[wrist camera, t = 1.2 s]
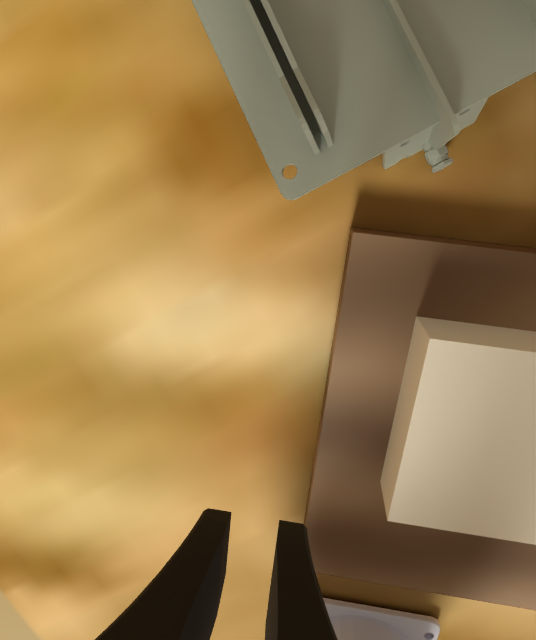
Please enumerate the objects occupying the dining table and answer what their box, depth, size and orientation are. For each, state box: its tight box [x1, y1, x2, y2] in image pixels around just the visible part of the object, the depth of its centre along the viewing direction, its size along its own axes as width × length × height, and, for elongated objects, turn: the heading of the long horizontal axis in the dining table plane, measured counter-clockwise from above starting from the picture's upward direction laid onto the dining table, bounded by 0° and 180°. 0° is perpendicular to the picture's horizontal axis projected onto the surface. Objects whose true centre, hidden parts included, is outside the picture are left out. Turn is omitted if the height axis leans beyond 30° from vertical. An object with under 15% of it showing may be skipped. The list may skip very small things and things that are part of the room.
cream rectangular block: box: [380, 316, 536, 545], centre depth 18 cm, size 8×6×2 cm
